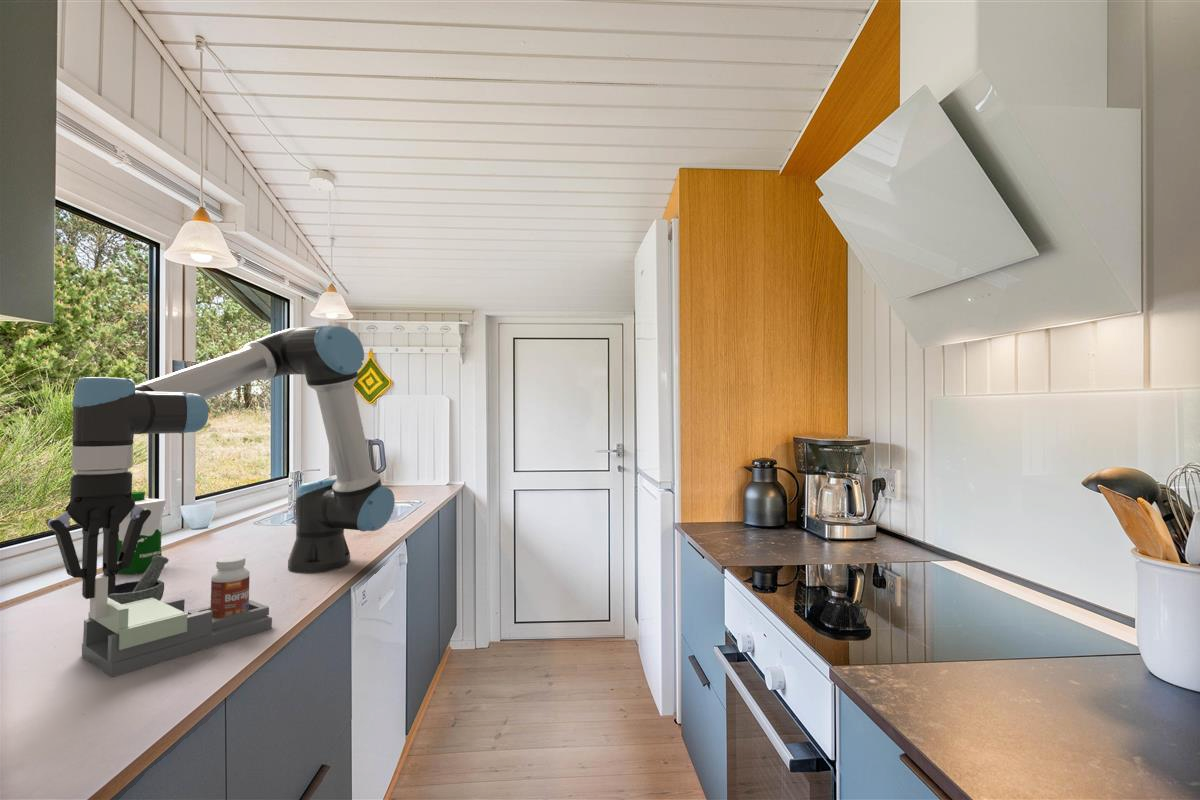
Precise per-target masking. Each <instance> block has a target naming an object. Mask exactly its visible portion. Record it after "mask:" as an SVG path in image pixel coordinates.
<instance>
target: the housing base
mask: <svg viewBox="0 0 1200 800" xmlns="http://www.w3.org/2000/svg"><path fill="white" fill-rule="evenodd" d="M162 602H163V603H165V604H168V605H170V606H172V607H174V608H176V609H178V610H181V611H183V612H185V603H186V601H185V598H183V597H179V598H174V599H169V600H166V601H162ZM210 609H211V605H210V606H206V607H202V608H197V609H194V610H191V611H187V632H183V633H180V634H176V635H172V636H169V637H165V638H162V639H158V640H154V641H151V642H147V643H144V644H140V645H136V646H133V647H129V648H125V649H122V650H119V635H118V634H117V633H115V632H113V631H112V630H110V629H108V628H107V627H105V626H103V625H102V624H100V623H98V622H97V621H95V620H93V619H92V618H91V619H83V633H82V634H83V640H82V641H83V642H82V643H81V656H82V657H83V658H85V660H87V661H89V662H90V663H92V665H94V666H95V667H97V668H98V669H99V670H101V671H102V672H104V673H105V674H106V675H107V676H109V677H111V678H114V677H117V676H120V675H123V674H126V673H130V672H132V671H137V670H140V669H143V668H146V667H150V666H152V665H157V664H159V663H163V662H165V661H169V660H172V659H175V658H179V657H182V656H185V655H189V654H192V653H196V652H198V651H202V650H206V649H208V648H212V647H215V646H218V645H221V644H226V643H228V642H231V641H235V640H238V639H241V638H245V637H247V636H251V635H254V634H257V633H260V632H261V633H262V632H264V631H267V629H268V630H271V629H272V626H273V617H271V616H270V607H269V606H267V605H265V604H263V603H260V602H257V601H254V600H252V599H249V611H245V612H242V613H238V614H234V615H231V616H227V617H223V618H220V619H214V618H212V616H213V611H211V610H210ZM270 628H271V629H270Z"/></svg>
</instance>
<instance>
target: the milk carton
mask: <svg viewBox="0 0 1200 800" xmlns="http://www.w3.org/2000/svg"><path fill="white" fill-rule="evenodd" d="M132 498H133V500H134V501H135V505H136V506H138V507H141V508H144V509H148V510H150V511H151V514H150V516H149V517H148V518H147V520H146V521H145V522H144V524H143V527H142V530H141V533H140V536H139V540H138V543H137V546H136V549H135V552H134V555H133V559H132V562H131V565H130V567H129V568H126V569H122V570H120V571H119V572H118V574H127V575H138V574H143V573H145V572H146V570H147V568H148V567H149V565H150V564H151V562H152V558H153V556H162V532H163V530H162V527H163V525H162V523H163V513H164V511H165V506H166V503H167V499H160V498H145V492H144V491H132ZM130 514H131V511H130V513H129V514H128V515H127V516H126V517H125V519H124V520H123V521H122V522H121V523H120V524H119V532H118V551H117V560H118V556H119V553H120V550H121V547H122V544H123V541H124V538H125V534H126V531H127V528H128V525H129V522H130V520H131V518H130Z"/></svg>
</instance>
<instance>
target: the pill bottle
mask: <svg viewBox="0 0 1200 800" xmlns="http://www.w3.org/2000/svg"><path fill="white" fill-rule="evenodd" d="M215 563H216V565H215V567H216V569H217V571H214V572H213V574H212V575H211V580H210V582H211V584H210V585H211V586H210V587H211V588H210V606H211V609H210V610H211V611H213V616H212V618H214V619H220V618H223V617H227V616H231V615H234V614H238V613H242V612H245V611H249V600H250V577H251V576H250V570H249V569H248V568H246V567H245V565H246V557H245V556H243V555H241V556H239V555H234V556H226V557H222V558H219V559H218V558H217V560H216V562H215Z"/></svg>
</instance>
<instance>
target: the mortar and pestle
mask: <svg viewBox="0 0 1200 800" xmlns="http://www.w3.org/2000/svg"><path fill="white" fill-rule="evenodd" d="M169 561H170V559H169V558H168V557H166V556H164V555H163V556H153V558H152V562H151V564H150V565H149V567H148V568H147V570H146V572H143V575H142V576H141V578H140V579H139V580H132V581H125V582H121V583H115V592H114V593H113V594H109V595H108V598H110V599H112V600H114V601H116V602H118V603H120V604H126V603H131V602H135V601H140V600H144V599H149V598H154V599H157V600H159V601H161V600H162V598H163V596H164V591H165V582H164V581H162V580H160V579H159V578H160V576H161V573H162V572H163V570H164V567H165V565H166V564H168V563H169Z"/></svg>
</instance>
